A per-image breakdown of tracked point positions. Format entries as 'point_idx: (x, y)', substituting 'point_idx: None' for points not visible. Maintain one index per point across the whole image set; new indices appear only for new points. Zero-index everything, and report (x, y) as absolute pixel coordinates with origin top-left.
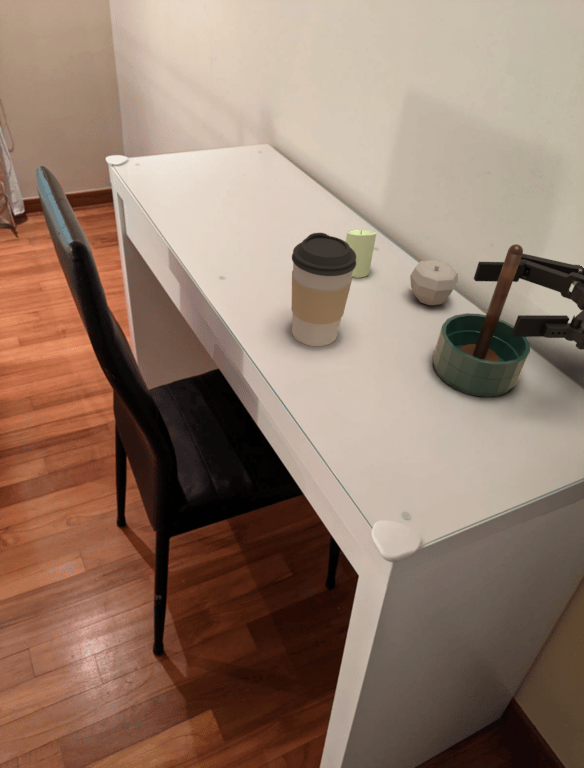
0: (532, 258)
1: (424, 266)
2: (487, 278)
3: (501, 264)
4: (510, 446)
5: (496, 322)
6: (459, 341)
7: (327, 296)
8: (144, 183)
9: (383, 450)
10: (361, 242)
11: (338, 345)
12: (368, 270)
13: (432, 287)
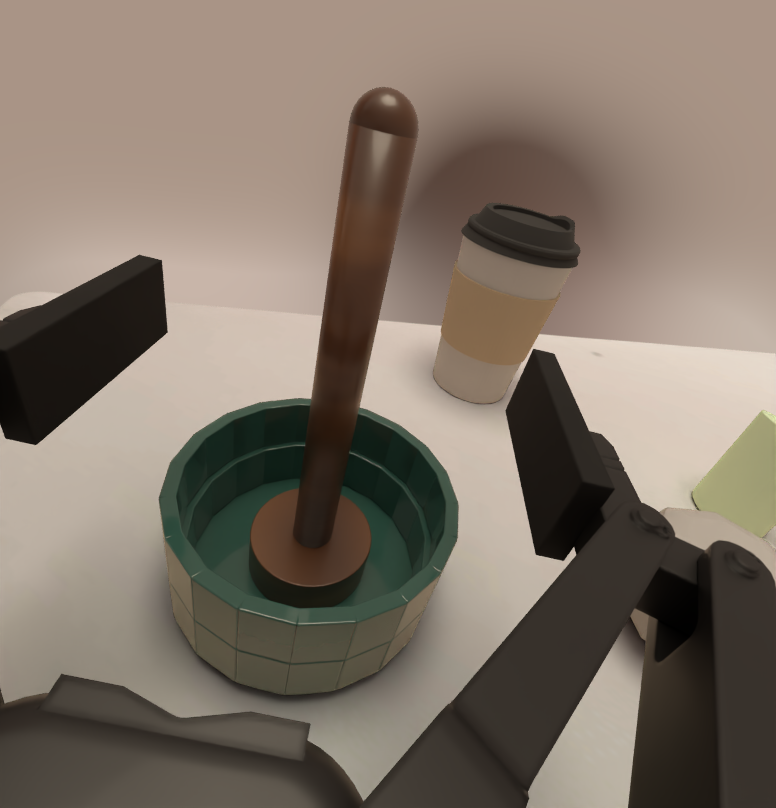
0: (724, 597)
1: (725, 527)
2: (515, 427)
3: (554, 399)
4: (10, 490)
5: (307, 429)
6: (414, 555)
7: (452, 275)
8: None
9: (173, 342)
10: (753, 431)
11: (435, 392)
12: (729, 519)
13: None
